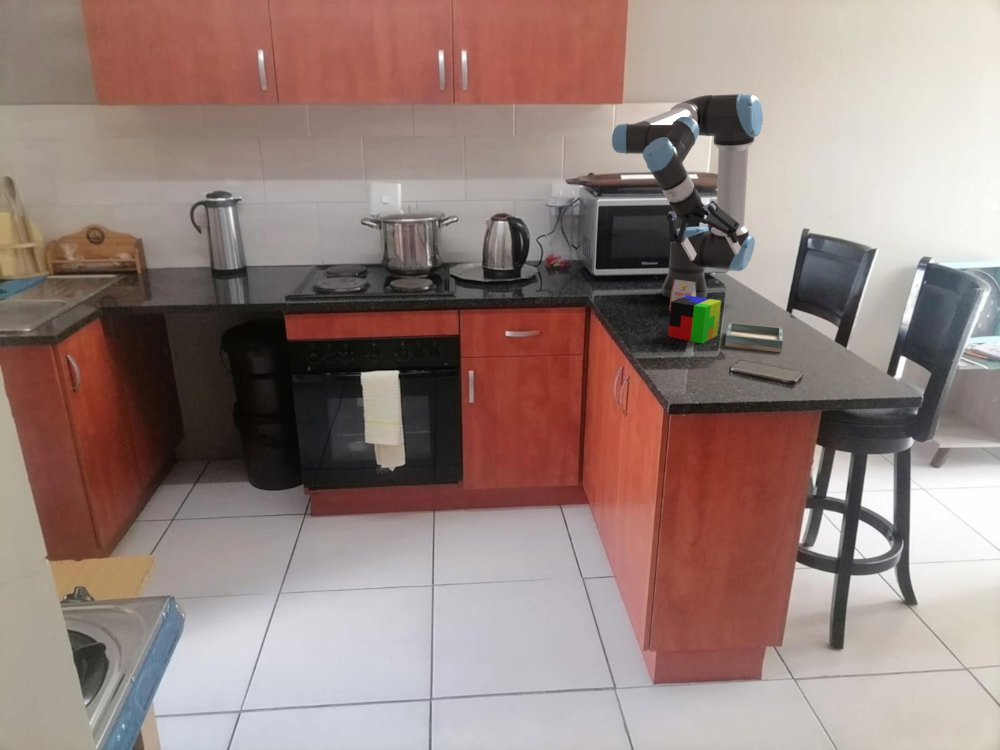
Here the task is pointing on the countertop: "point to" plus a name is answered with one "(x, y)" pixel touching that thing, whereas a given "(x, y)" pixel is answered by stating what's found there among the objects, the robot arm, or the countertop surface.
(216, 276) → the countertop surface
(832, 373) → the countertop surface
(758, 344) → the shallow tray
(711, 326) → the puzzle toy
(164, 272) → the countertop surface
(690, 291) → the tea bag
